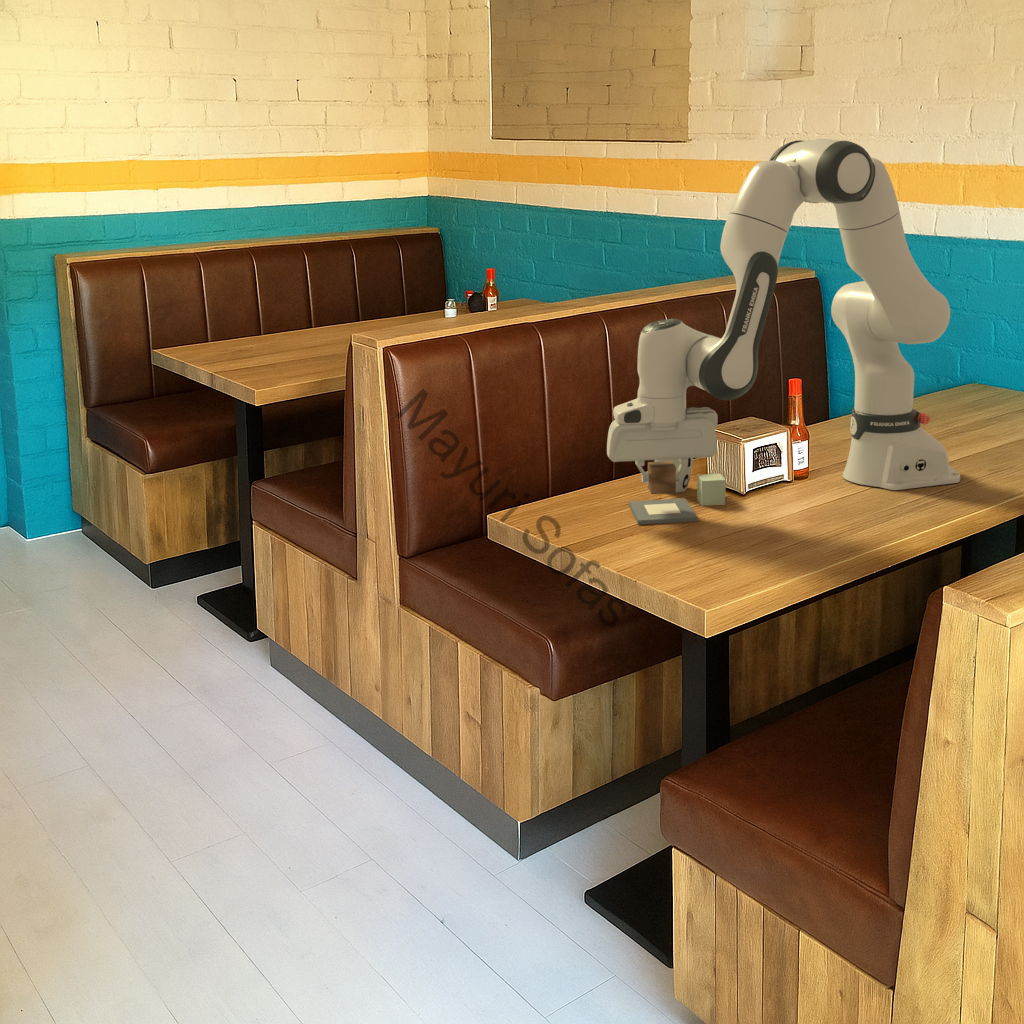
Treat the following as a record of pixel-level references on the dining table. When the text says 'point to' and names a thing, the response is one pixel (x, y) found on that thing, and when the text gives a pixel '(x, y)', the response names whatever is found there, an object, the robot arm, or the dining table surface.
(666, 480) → the walnut block
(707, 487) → the sage block
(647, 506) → the grey flat square plate
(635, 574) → the dining table surface
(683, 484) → the cup
